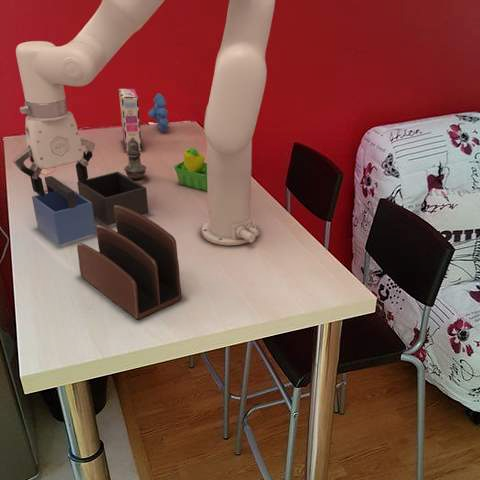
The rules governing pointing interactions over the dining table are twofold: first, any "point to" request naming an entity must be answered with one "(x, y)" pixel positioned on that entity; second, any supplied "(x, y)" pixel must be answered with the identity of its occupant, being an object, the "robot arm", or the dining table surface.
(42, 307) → the dining table surface
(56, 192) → the blue tote
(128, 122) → the candy bar box
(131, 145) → the grey chess piece
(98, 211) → the black tote
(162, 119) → the grapes
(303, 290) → the dining table surface
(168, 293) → the letter holder
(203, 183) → the fruit basket
